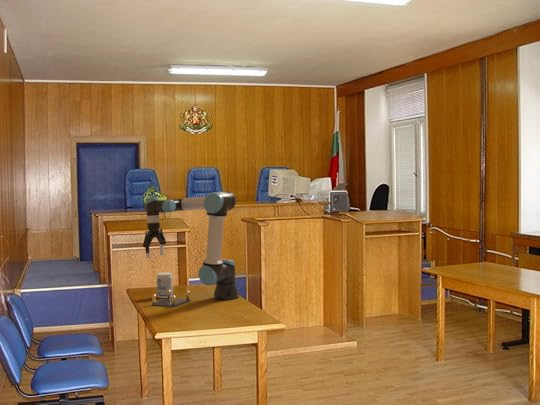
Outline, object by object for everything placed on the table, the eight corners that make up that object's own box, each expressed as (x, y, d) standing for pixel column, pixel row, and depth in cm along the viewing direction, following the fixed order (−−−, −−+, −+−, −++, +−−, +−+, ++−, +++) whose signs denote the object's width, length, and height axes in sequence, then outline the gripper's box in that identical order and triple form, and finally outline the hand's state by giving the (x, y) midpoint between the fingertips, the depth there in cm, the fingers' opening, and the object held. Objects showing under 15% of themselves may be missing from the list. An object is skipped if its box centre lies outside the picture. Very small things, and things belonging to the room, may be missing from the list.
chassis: (190, 301, 361) (190, 291, 361) (174, 307, 347) (173, 296, 347) (168, 299, 368) (168, 289, 368) (151, 305, 354) (151, 294, 354)
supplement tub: (155, 298, 373) (154, 274, 372) (160, 295, 382) (159, 272, 382) (170, 298, 372) (169, 274, 371) (175, 295, 381) (174, 272, 380)
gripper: (160, 220, 389) (162, 253, 389) (135, 224, 366) (137, 259, 367) (170, 220, 385) (172, 254, 386) (145, 224, 363) (147, 259, 364)
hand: (155, 256), depth 377 cm, fingers open, 13 cm apart
